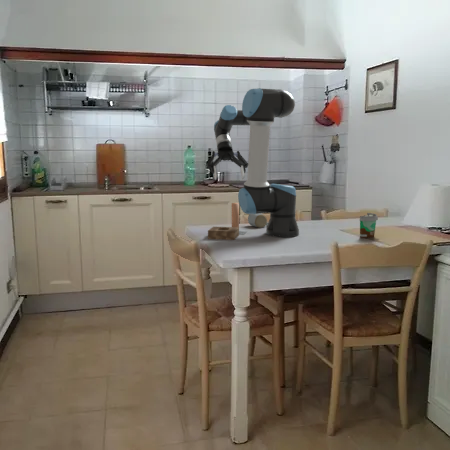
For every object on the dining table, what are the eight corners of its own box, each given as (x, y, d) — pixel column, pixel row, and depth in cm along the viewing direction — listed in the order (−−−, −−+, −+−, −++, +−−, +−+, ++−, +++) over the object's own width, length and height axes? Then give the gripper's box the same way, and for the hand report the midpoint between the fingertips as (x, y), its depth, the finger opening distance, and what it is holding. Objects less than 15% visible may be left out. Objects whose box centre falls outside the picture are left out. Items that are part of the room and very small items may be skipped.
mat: (247, 232, 226) (247, 231, 226) (244, 235, 218) (244, 234, 218) (226, 231, 228) (226, 230, 228) (223, 234, 220) (223, 234, 220)
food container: (372, 239, 207) (373, 217, 205) (358, 238, 210) (359, 216, 208) (380, 235, 217) (381, 213, 215) (366, 233, 220) (367, 212, 218)
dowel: (239, 232, 224) (239, 202, 222) (238, 233, 221) (238, 203, 219) (232, 232, 225) (232, 202, 223) (230, 233, 222) (230, 203, 219)
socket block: (239, 236, 217) (239, 227, 216) (234, 240, 207) (234, 231, 206) (213, 235, 219) (213, 226, 219) (207, 239, 210) (207, 230, 209)
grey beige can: (255, 228, 235) (255, 213, 233) (247, 226, 242) (247, 211, 241) (273, 227, 239) (273, 212, 238) (265, 225, 247) (265, 210, 245)
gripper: (247, 150, 245) (253, 182, 233) (199, 151, 240) (203, 183, 229) (249, 140, 239) (256, 172, 227) (200, 140, 234) (204, 173, 223)
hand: (229, 177), depth 228 cm, fingers open, 13 cm apart
